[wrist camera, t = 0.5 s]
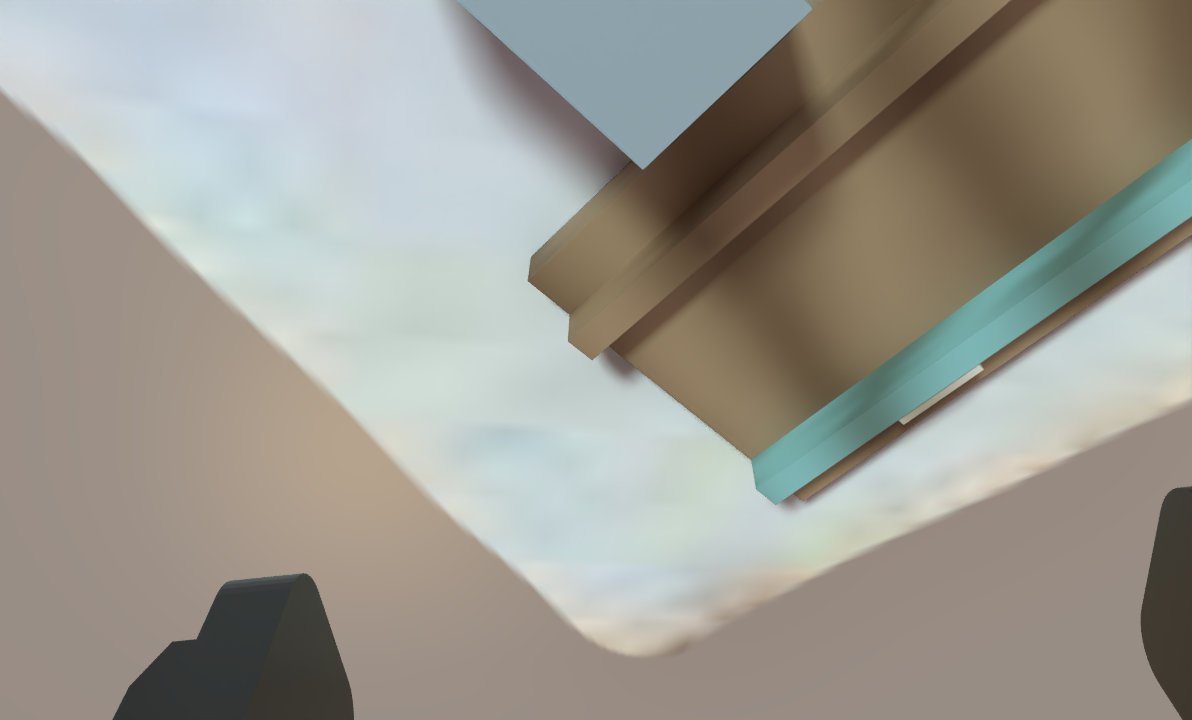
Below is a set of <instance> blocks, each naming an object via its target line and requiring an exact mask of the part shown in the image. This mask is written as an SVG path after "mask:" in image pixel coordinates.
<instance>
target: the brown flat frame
mask: <svg viewBox="0 0 1192 720" xmlns="http://www.w3.org/2000/svg"><path fill="white" fill-rule="evenodd" d="M808 2H809V3H810V5H811V7H812V10H811V11H810V12H809V13H808V14H807V15H806V16H805V17H804V18H803V19H802V20H801V21H800V22H799V23H797V24H796V25H795V26H794V27H793V28H792V29H791V30H790V31H789V32H788V33H787V34H786V35H785V36H784V37H783V38H782V39H781V40H780V41H778V42H777V43H776V44H775V45H774V46H773V47H772V48H771V49H770V50H769V51H768V52H767V53H766V54H765V55H764V56H763V57H762V58H761V59H759V60H758V61H757V62H756V63H755V64H754V65H753V66H752V67H751V68H750V69H749V70H748V71H747V72H746V73H745V74H744V75H743V76H742V77H740V78H739V79H738V80H737V81H736V82H735V83H734V84H733V85H732V86H731V87H730V88H729V89H728V90H727V91H726V92H725V93H724V94H723V95H721V96H720V97H719V98H718V99H717V100H716V101H715V102H714V103H713V104H712V105H711V106H710V107H709V108H708V109H707V110H706V111H705V112H704V113H702V114H701V115H700V116H699V117H698V118H697V119H696V120H695V121H694V122H693V123H692V124H691V125H690V126H689V127H688V128H687V129H686V130H685V131H683V132H682V133H681V134H680V135H679V136H678V137H677V138H676V139H675V140H674V141H673V142H672V143H671V144H670V145H669V146H668V147H667V148H666V149H664V150H663V151H662V152H661V153H660V154H659V155H658V156H657V157H656V158H655V159H654V160H653V161H652V162H651V163H650V164H649V165H648V166H647V167H645V168H644V169H643V170H642V169H641V168H640V167H639V166H638V165H637V164H636V163H635V162H634V161H633V160H632V161H631V162H630V163H629V164H628V165H627V166H626V167H625V168H624V169H623V170H621V171H620V172H619V173H618V174H617V175H616V176H615V177H614V178H613V179H612V180H611V181H610V182H609V183H608V184H607V185H606V186H605V187H604V188H603V189H602V190H601V191H600V192H599V193H597V194H596V195H595V196H594V197H593V198H592V199H591V200H590V201H589V202H588V203H587V204H586V205H585V206H584V207H583V208H582V209H581V210H580V211H579V212H578V213H577V214H576V215H575V216H573V217H572V218H571V219H570V220H569V221H568V222H567V223H566V224H565V225H564V226H563V227H562V228H561V229H560V230H559V231H558V232H557V233H556V234H555V235H554V236H553V237H552V238H551V239H549V240H548V241H547V242H546V243H545V244H544V245H543V246H542V247H541V248H540V249H539V250H538V251H537V252H536V253H535V254H534V255H533V256H532V257H531V261H530V268H529V275H528V282H530V283H531V284H532V285H533V286H535V287H536V288H537V289H538V290H540V291H541V292H542V293H543V294H545V295H546V296H547V297H548V298H550V299H551V300H552V301H553V302H555V303H556V304H557V305H558V306H560V307H561V308H562V309H563V310H565V311H566V312H567V313H568V314H570V319H569V333H568V342H569V343H571V344H572V345H573V346H575V347H576V348H577V349H578V350H580V351H581V352H582V353H583V354H585V355H586V356H587V357H589V358H590V359H591V360H593V359H594V358H595V357H597V356H598V355H599V354H600V353H601V352H602V351H604V350H605V349H606V348H607V347H608V346H610V347H611V348H612V349H613V350H615V351H616V352H617V353H618V354H620V355H621V356H622V357H623V358H624V359H626V360H627V361H628V362H629V363H631V364H632V365H633V366H634V367H636V368H637V369H638V370H639V371H641V372H642V373H643V374H644V375H646V376H647V377H648V378H649V379H651V380H652V381H653V382H654V383H656V384H657V385H658V386H659V387H661V388H662V389H663V390H664V391H666V392H667V393H668V394H669V395H671V396H672V397H673V398H674V399H676V400H677V401H678V402H679V403H681V404H682V405H683V406H684V407H686V408H687V409H688V410H689V411H691V412H692V413H693V414H694V415H696V416H697V417H698V418H699V419H701V420H702V421H703V422H704V423H706V424H707V425H708V426H709V427H711V428H712V429H713V430H714V431H716V432H717V433H718V434H719V435H721V436H722V437H723V438H724V439H726V440H727V441H728V442H729V443H731V444H732V445H733V446H734V447H736V448H737V449H738V450H739V451H741V452H742V453H743V454H744V455H746V456H747V457H748V458H749V459H751V461H752V467H753V473H754V479H755V485H756V490H758V491H759V492H760V493H761V494H763V495H764V496H765V497H767V498H768V499H769V500H770V501H772V502H773V503H774V504H775V505H777V504H778V503H780V502H781V501H783V500H784V499H785V498H787V497H788V496H790V495H791V494H794V495H796V496H797V497H798V498H799V499H801V500H802V501H804V500H806V499H807V498H809V497H810V496H812V495H813V494H815V493H816V492H818V491H819V490H820V489H822V488H823V487H825V486H826V485H828V484H829V483H831V482H832V481H834V480H835V479H836V478H838V477H839V476H841V475H842V474H844V473H845V472H847V471H848V470H850V469H851V468H853V467H854V466H855V465H857V464H858V463H860V462H861V461H863V460H864V459H866V458H867V457H869V456H870V455H871V454H873V453H874V452H876V451H877V450H879V449H880V448H882V447H883V446H885V445H886V444H887V443H889V442H890V441H892V440H893V439H895V438H896V437H898V436H899V435H901V434H902V433H904V432H905V431H906V430H908V429H909V428H911V427H912V426H914V425H915V424H917V423H918V422H920V421H921V420H922V419H924V418H925V417H927V416H928V415H930V414H931V413H933V412H934V411H936V410H937V409H938V408H940V407H941V406H943V405H944V404H946V403H947V402H949V401H950V400H952V399H953V398H954V397H956V396H957V395H959V394H960V393H962V392H963V391H965V390H966V389H968V388H969V387H971V386H972V385H973V384H975V383H976V382H978V381H979V380H981V379H982V378H984V377H985V376H987V375H988V374H989V373H991V372H992V371H994V370H995V369H997V368H998V367H1000V366H1001V365H1003V364H1004V363H1005V362H1007V361H1008V360H1010V359H1011V358H1013V357H1014V356H1016V355H1017V354H1019V353H1020V352H1022V351H1023V350H1024V349H1026V348H1027V347H1029V346H1030V345H1032V344H1033V343H1035V342H1036V341H1038V340H1039V339H1040V338H1042V337H1043V336H1045V335H1046V334H1048V333H1049V332H1051V331H1052V330H1054V329H1055V328H1056V327H1058V326H1059V325H1061V324H1062V323H1064V322H1065V321H1067V320H1068V319H1070V318H1071V317H1072V316H1074V315H1075V314H1077V313H1078V312H1080V311H1081V310H1083V309H1084V308H1086V307H1087V306H1089V305H1090V304H1091V303H1093V302H1094V301H1096V300H1097V299H1099V298H1100V297H1102V296H1103V295H1105V294H1106V293H1107V292H1109V291H1110V290H1112V289H1113V288H1115V287H1116V286H1118V285H1119V284H1121V283H1122V282H1123V281H1125V280H1126V279H1128V278H1129V277H1131V276H1132V275H1134V274H1135V273H1137V272H1138V271H1139V270H1141V269H1142V268H1144V267H1145V266H1147V265H1148V264H1150V263H1151V262H1153V261H1154V260H1156V259H1157V258H1158V257H1160V256H1161V255H1163V254H1164V253H1166V252H1167V251H1169V250H1170V249H1172V248H1173V247H1174V246H1176V245H1177V244H1179V243H1180V242H1182V241H1183V240H1185V239H1186V238H1188V237H1189V236H1190V235H1192V0H808Z"/></svg>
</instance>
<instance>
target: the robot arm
mask: <svg viewBox="0 0 1192 720" xmlns="http://www.w3.org/2000/svg"><path fill="white" fill-rule="evenodd" d="M1141 632H1142V638H1143V644H1144V648H1145V652H1146V655H1147V659H1148V661H1149V664H1150V666H1151V669H1152V671H1153V673H1154V675H1155V677H1156V679H1157V681H1158V682H1159V684H1160V686H1161V687H1162V689H1163V690H1164V692H1165V693H1166V695H1167V696H1168V698H1169V699H1170V701H1171V703H1172V704H1173V706H1174V707H1175V709H1176V710H1177V712H1178V713H1179V715H1180V716H1181V718H1182V720H1192V486H1191V487H1181V488H1175V489H1173V490H1171V491H1170V492H1169V493H1168V494H1167V496H1166V497H1165V499H1164V501H1163V504H1162V507H1161V512H1160V517H1159V522H1158V527H1157V532H1156V537H1155V542H1154V547H1153V553H1152V558H1151V563H1150V568H1149V574H1148V578H1147V584H1146V589H1145V594H1144V599H1143V604H1142V610H1141ZM113 720H354V711H353V700H352V694H351V689H350V685H349V681H348V678H347V675H346V672H345V669H344V667H343V663H342V661H341V657H340V654H339V651H338V649H337V646H336V642H335V639H334V637H333V634H332V630H331V627H330V624H329V621H328V618H327V616H326V612H325V609H324V606H323V604H322V601H321V598H320V595H319V592H318V589H317V586H316V585H315V583H314V581H313V579H312V578H311V577H310V576H309V575H308V574H304V573H303V574H293V575H283V576H273V577H263V578H253V579H244V580H233V581H229V582H226V583H225V584H224V585H223V586H222V587H221V589H220V590H219V592H218V593H217V595H216V598H215V600H214V602H213V604H212V606H211V609H210V611H209V613H208V615H207V617H206V620H205V622H204V624H203V626H202V628H201V631H200V633H199V635H198V637H197V639H196V640H186V641H176V642H172V643H171V644H170V645H169V646H168V647H167V648H166V649H165V650H164V651H163V652H162V653H161V654H160V655H159V656H158V657H157V658H156V659H155V660H154V661H153V662H152V664H151V665H149V667H148V668H147V669H146V670H145V671H144V672H143V673H142V674H141V675H140V676H139V677H138V678H137V679H136V680H135V681H134V682H133V683H132V684H131V685H130V686H129V688H128V690H127V692H126V694H125V696H124V698H123V700H122V702H121V704H120V706H119V708H118V710H117V712H116V714H115V716H114V718H113Z"/></svg>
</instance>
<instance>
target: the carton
mask: <svg viewBox="0 0 1192 720" xmlns="http://www.w3.org/2000/svg"><path fill="white" fill-rule="evenodd" d="M457 1H458V2H459V3H460V4H461V5H462V6H463V7H464V8H465V9H466V10H468V11H469V12H470V13H471V14H472V15H473V16H474V17H475V18H476V19H477V20H479V21H480V22H481V23H482V24H483V25H484V26H485V27H486V28H487V29H488V30H490V31H491V32H492V33H493V34H494V35H495V36H496V37H497V38H498V39H499V40H501V41H502V42H503V43H504V44H505V45H506V46H507V47H508V48H509V49H510V50H512V51H513V52H514V53H515V54H516V55H517V56H518V57H519V58H520V59H521V60H523V61H524V62H525V63H526V64H527V65H528V66H529V67H530V68H531V69H532V70H534V71H535V72H536V73H537V74H538V75H539V76H540V77H541V78H542V79H543V80H545V81H546V82H547V83H548V84H549V85H550V86H551V87H552V88H553V89H554V90H556V91H557V92H558V93H559V94H560V95H561V96H562V97H563V98H564V99H565V100H567V101H568V102H569V103H570V104H571V105H572V106H573V107H574V108H575V109H576V110H578V111H579V112H580V113H581V114H582V115H583V116H584V117H585V118H586V119H587V120H589V121H590V122H591V123H592V124H593V125H594V126H595V127H596V128H597V129H598V130H600V131H601V132H602V133H603V134H604V135H605V136H606V137H607V138H608V139H609V140H611V141H612V142H613V143H614V144H615V145H616V146H617V147H618V148H619V149H620V150H622V151H623V152H624V153H625V154H626V155H627V156H628V157H629V158H630V159H631V160H633V161H634V162H635V163H636V164H637V165H638V166H639V167H640V168H641V169H642V170H643V169H644V168H645V167H647V166H648V165H649V164H650V163H651V162H652V161H653V160H654V159H655V158H656V157H657V156H658V155H659V154H660V153H661V152H662V151H663V150H664V149H666V148H667V147H668V146H669V145H670V144H671V143H672V142H673V141H674V140H675V139H676V138H677V137H678V136H679V135H680V134H681V133H682V132H683V131H685V130H686V129H687V128H688V127H689V126H690V125H691V124H692V123H693V122H694V121H695V120H696V119H697V118H698V117H699V116H700V115H701V114H702V113H704V112H705V111H706V110H707V109H708V108H709V107H710V106H711V105H712V104H713V103H714V102H715V101H716V100H717V99H718V98H719V97H720V96H721V95H723V94H724V93H725V92H726V91H727V90H728V89H729V88H730V87H731V86H732V85H733V84H734V83H735V82H736V81H737V80H738V79H739V78H740V77H742V76H743V75H744V74H745V73H746V72H747V71H748V70H749V69H750V68H751V67H752V66H753V65H754V64H755V63H756V62H757V61H758V60H759V59H761V58H762V57H763V56H764V55H765V54H766V53H767V52H768V51H769V50H770V49H771V48H772V47H773V46H774V45H775V44H776V43H777V42H778V41H780V40H781V39H782V38H783V37H784V36H785V35H786V34H787V33H788V32H789V31H790V30H791V29H792V28H793V27H794V26H795V25H796V24H797V23H799V22H800V21H801V20H802V19H803V18H804V17H805V16H806V15H807V14H808V13H809V12H810V11H811V10H812V7H811V5H810V3H809V2H808V0H457Z"/></svg>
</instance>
